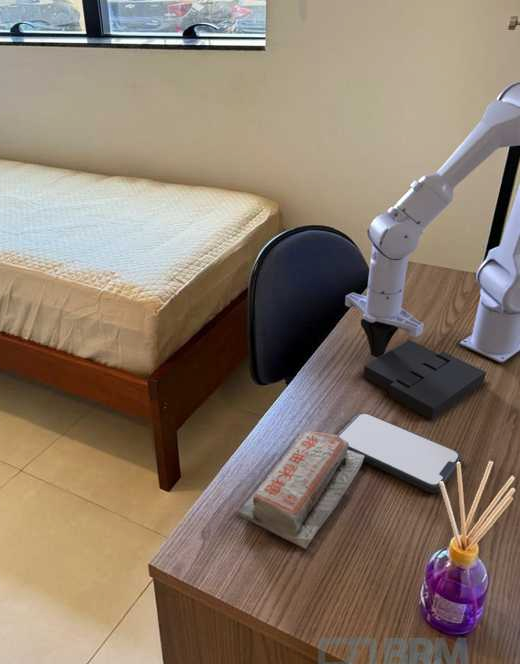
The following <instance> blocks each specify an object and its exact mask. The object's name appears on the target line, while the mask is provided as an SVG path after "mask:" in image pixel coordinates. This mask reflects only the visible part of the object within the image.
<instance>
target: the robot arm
mask: <svg viewBox="0 0 520 664" xmlns="http://www.w3.org/2000/svg"><path fill="white" fill-rule="evenodd" d="M517 146H520V80H519V81H515V82H512V83H511V84H509V85H507V86H505V88H504V89H503V90H502V91H501V92H500V93H499V94H498V97H496V98H495V99H493V101H491V102H490V103H489V104H488V105H487V107H486V109H485V112H484V114H483V117H482V118H481V120H480V122H479V123H478V124H477V125H476V126H475V127H474V128H473V130H472V131H471V132H470V133H469V134H468V135H467V137H466V138H465V139H464V141H462V142H461V144H459V146H458V147H457V148H456V149H455V151H453V153H452V154H451V155H450V156H449V158H448V159H447V160H446V161H445V163H444V164H443V165H442V166H441V167H439V169H438V170H437V172H434V173H430V174H425V175H423V176H421V177H420V179H419V180H417V179H415V180H414V181H412V183H411V184H410V185H409V188H410V189H408V191H407V192H406V193H405V194H404V195H403V196H402V197H401V198H400V199H399V200H398V202H397V203H395V205H393V206H391V207H390V208H389V209H388V210H387V212H384V213H381V214H379V215H378V216H376V218H374V220H373V221H372V222H371V224H370V227H368V228H367V229H366V235H367V237H368V240H369V241H370V242H371V245H372V246H371V254H370V261H369V269H368V279H367V280H368V281H367V289H366V295H364V294H363V295H362V294H359V293H356V292H350V293H348V294H346V295H345V300H344V306H346V307H348V308H352V307H353V308H356V309H357V310H359V312H361V313H362V314H363V318H362V319H360V326H361V327H362V329H363V330H364V333H365V336H366V338H367V342H368V346H369V351H370V355H371V356H373V357H375V359H377V358H379V357H381V356H382V355H384V354H386V350H387V347H388V345H389V344H390V341H391V340H392V338H393V336H394V335H395V333H397V331H398V330H399V329H400V330H402V331H405V332H407V333H409V336H410V337H412V338H414V339H416V338H418V337H419V336H421V335H422V334H423V331H424V325H425V324H424V323H423V322H421V321H419V320H417V318H415V317H414V316H412V315H411V314H410V313H409V312H407V311H406V310H405V309H404V308H402V307H403V306H402V305H403V300H404V299H403V298H404V292H405V285H406V284H405V283H406V277H407V270H408V264H409V255H410V254H411V253H413V252H414V251H415V250H417V247H418V245H419V241H420V237H421V236H422V234H423V233H424V229H426V228H427V227H428V226H429V225H430V224H431V222H433V221H434V220H435V219H436V218H437V217H438V216H439V215H440V214H441V213H442V212H443V211H444V210H445V209H446V208H447V207H448V206H449V205H450V204H451V203H452V202H453V198H454V189H455V188H456V187H457V186H458V185H459V184H460V183H461V182H462V181H464V179H466V178H467V177H468V176H469V175H470V174H471V173H473V171H475V170H476V169H477V168H478V167H479V166H480V165H481V164H483V163H484V161H486V160H487V159H488V158H489V157H490V156H491V155H492V154H494V153H495V152H496V151H498V149H501V148H508V147H509V148H510V147H517ZM475 280H476V283H477V285H478V286H479V287H480V291H479V295H480V297H479V302H478V306H477V311H476V314H475V315H476V316H475V320H474V324H473V329H472V334H471V335H469V336H468V337H465V338H464V339H462V340H461V341H460V343H459V345H461V346H462V347H465V348H467V349H469V350H472V351H474V352H476V353H478V354H480V355H482V356H485V357H487V358H489V359H491V360H493V361H496V362H498V363H502V364H503V363H504V362H506V361H507V360H509V359H510V358H511V357H512V356H513V357H514V355H515V354H517V353H519V352H520V185H519V186H518V189H517V193H516V194H515V198H514V202H513V205H512V208H511V210H510V213H509V217H508V220H507V223H506V226H505V228H504V232H503V235H502V238H501V241H500V244H499V246H496V247H494V248H492V249H490V250H488V252H487V256H486V258H485V260H484V261H483V262H482V264H481V265H480V266H479V268H478V269H477V271H476V275H475Z"/></svg>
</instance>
